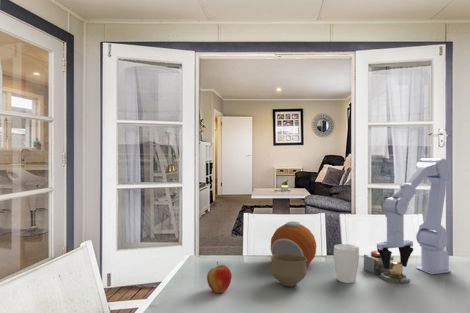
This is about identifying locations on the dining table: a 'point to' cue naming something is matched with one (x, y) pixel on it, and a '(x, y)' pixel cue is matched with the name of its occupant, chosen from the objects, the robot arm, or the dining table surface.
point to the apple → (219, 278)
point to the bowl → (288, 268)
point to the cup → (346, 262)
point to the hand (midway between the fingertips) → (395, 267)
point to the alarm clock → (294, 241)
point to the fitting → (395, 270)
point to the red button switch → (381, 268)
